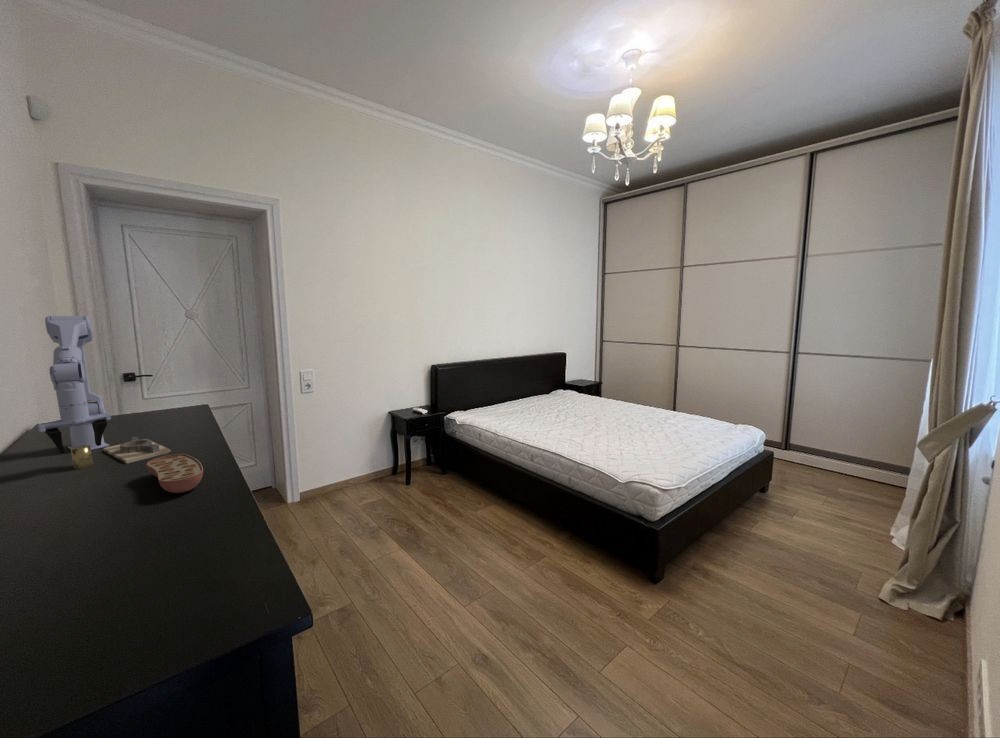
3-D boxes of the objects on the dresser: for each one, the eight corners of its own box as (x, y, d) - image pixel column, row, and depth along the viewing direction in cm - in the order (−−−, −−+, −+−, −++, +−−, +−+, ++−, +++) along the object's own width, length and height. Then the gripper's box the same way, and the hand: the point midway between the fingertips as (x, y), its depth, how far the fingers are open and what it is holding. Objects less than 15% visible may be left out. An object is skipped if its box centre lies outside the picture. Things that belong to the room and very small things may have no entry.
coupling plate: (103, 451, 131) (102, 442, 130) (146, 441, 140) (145, 433, 140) (126, 463, 121) (125, 454, 120) (170, 452, 130) (169, 443, 130)
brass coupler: (72, 467, 118) (68, 447, 117) (90, 462, 121) (87, 444, 120) (76, 470, 116) (72, 450, 115) (95, 465, 119) (92, 446, 118)
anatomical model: (145, 477, 112) (143, 460, 111) (189, 466, 119) (187, 450, 118) (165, 503, 97) (162, 484, 96) (213, 489, 105) (211, 471, 104)
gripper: (39, 411, 107) (48, 459, 109) (111, 400, 120) (118, 444, 122) (32, 408, 111) (41, 454, 113) (103, 398, 123) (110, 440, 125)
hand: (80, 448), depth 118 cm, fingers open, 7 cm apart
